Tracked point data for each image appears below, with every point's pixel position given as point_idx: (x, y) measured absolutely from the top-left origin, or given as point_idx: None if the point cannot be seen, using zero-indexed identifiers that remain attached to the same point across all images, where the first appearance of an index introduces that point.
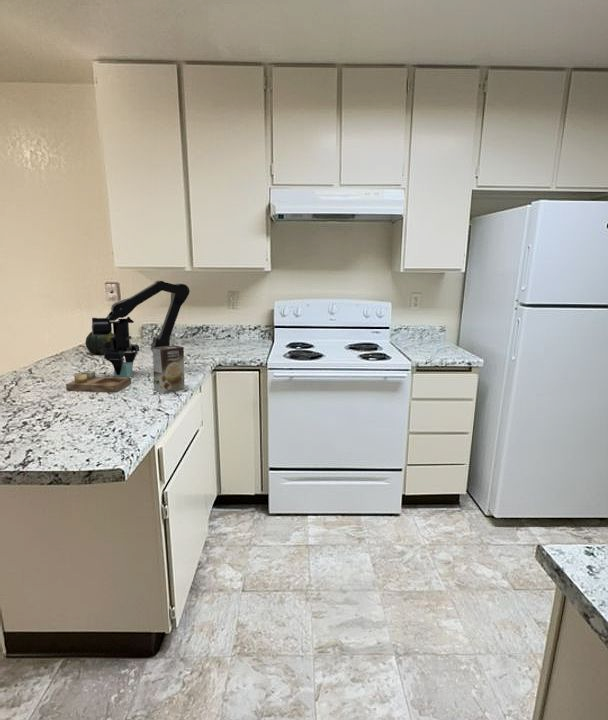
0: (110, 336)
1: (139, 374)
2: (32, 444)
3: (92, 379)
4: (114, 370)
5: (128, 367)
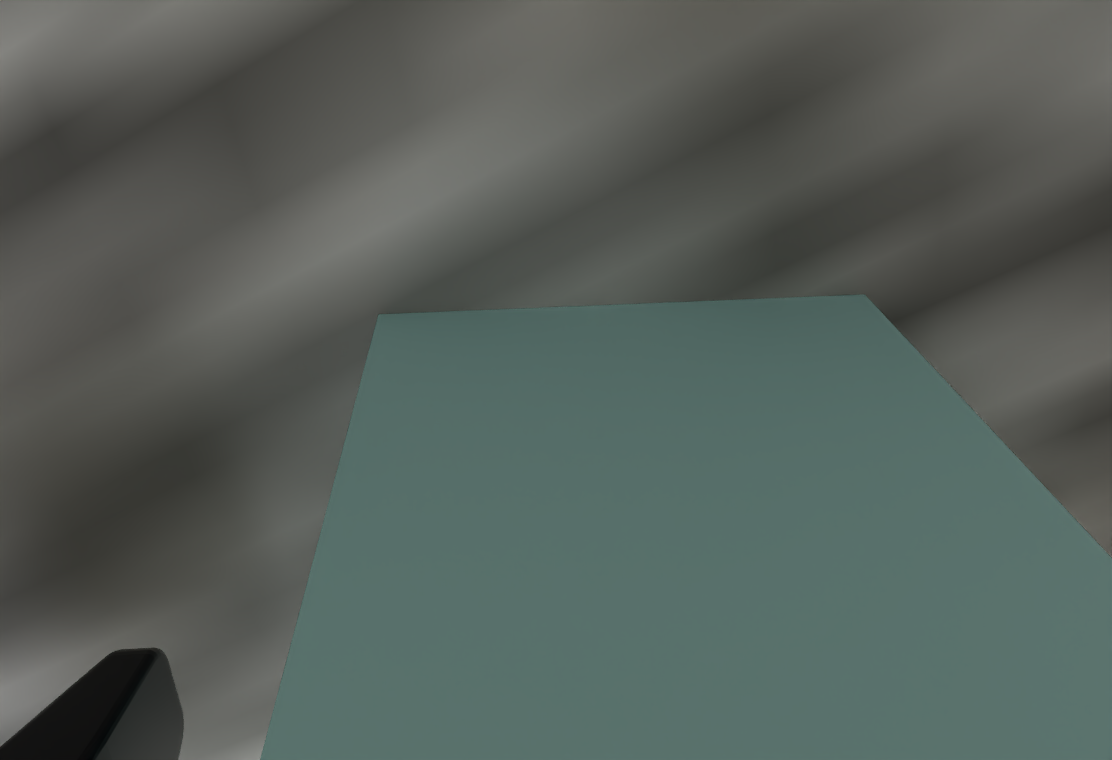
0: None
1: None
2: None
3: None
4: (326, 532)
5: None
